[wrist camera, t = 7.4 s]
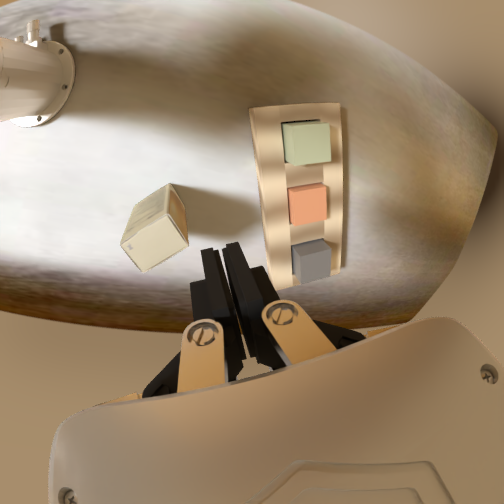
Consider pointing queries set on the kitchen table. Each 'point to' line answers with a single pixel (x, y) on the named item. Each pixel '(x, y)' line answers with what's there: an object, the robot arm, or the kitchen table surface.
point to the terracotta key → (307, 203)
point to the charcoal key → (311, 260)
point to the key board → (287, 175)
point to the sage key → (306, 142)
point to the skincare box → (156, 229)
